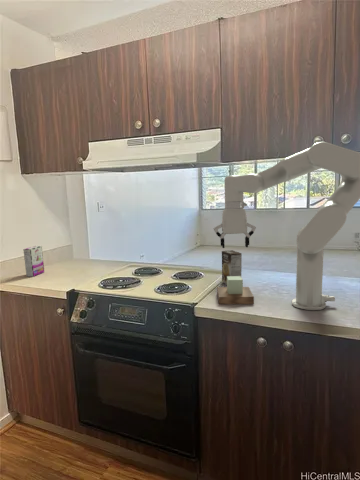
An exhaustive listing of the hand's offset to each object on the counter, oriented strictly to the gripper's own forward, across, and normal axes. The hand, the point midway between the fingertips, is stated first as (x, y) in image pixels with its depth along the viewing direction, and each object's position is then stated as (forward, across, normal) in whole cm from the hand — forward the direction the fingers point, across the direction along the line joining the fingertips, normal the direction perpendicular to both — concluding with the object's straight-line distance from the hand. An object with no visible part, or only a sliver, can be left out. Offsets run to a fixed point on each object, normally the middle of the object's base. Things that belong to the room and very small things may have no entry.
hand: (234, 247), depth 137 cm
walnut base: (+22, 0, 0) cm, 22 cm away
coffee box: (+22, 0, -23) cm, 32 cm away
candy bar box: (+21, +112, -48) cm, 124 cm away
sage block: (+19, 0, 0) cm, 19 cm away
